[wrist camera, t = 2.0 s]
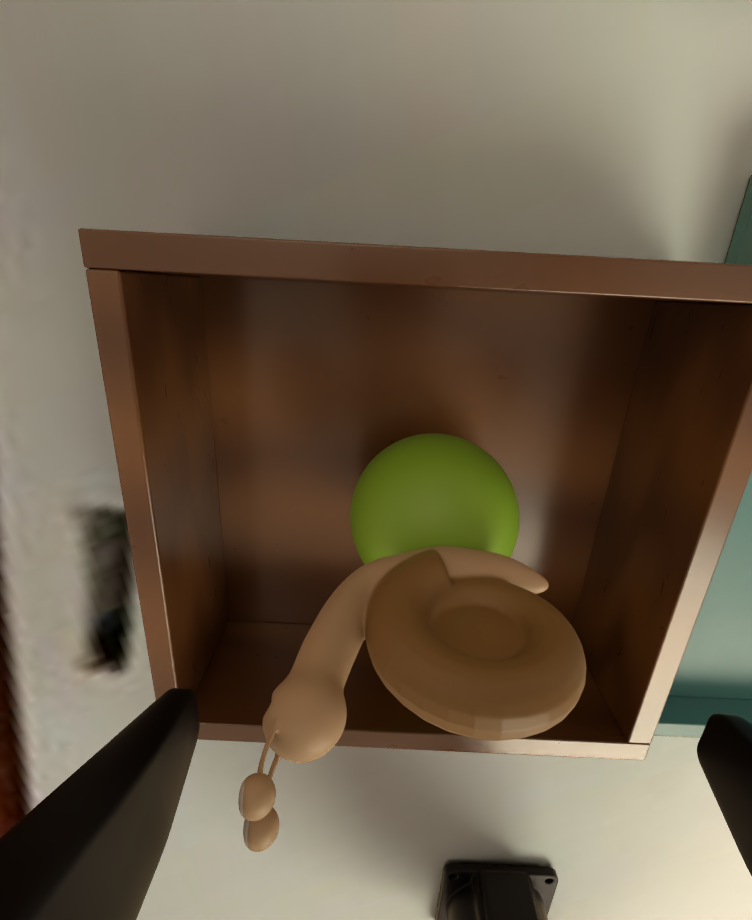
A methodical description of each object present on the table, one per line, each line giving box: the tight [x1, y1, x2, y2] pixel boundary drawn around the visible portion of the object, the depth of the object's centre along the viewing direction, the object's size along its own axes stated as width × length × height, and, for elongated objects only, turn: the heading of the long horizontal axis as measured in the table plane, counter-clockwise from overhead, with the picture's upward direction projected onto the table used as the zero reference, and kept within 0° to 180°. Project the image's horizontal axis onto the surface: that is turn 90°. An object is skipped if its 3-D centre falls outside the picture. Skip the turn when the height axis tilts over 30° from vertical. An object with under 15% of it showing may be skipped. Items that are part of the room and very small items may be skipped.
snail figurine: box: [239, 433, 586, 852], centre depth 12 cm, size 5×6×12 cm
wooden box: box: [78, 228, 752, 760], centre depth 15 cm, size 16×17×5 cm
